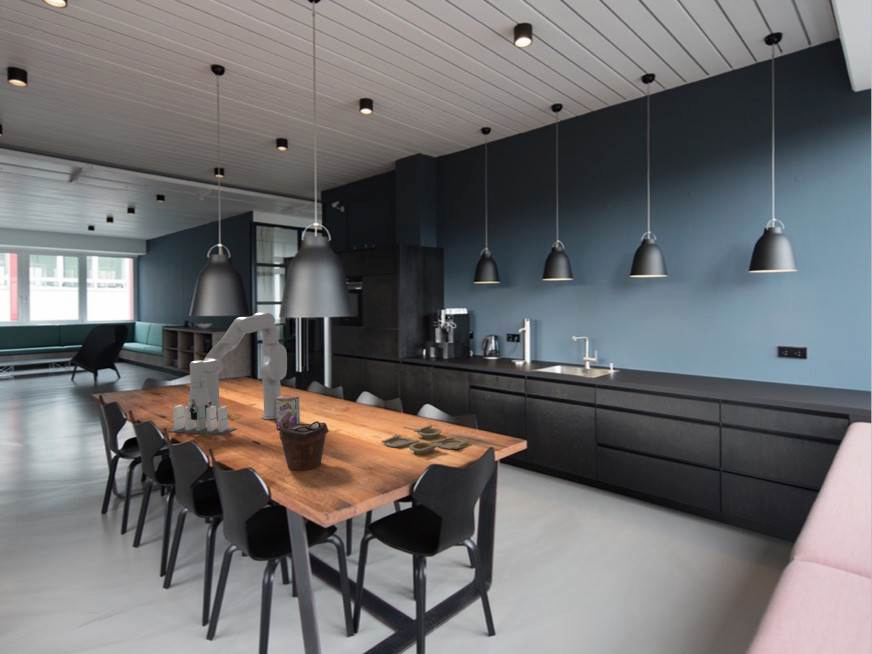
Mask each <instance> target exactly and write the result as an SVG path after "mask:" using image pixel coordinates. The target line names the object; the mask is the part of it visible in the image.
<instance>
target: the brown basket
mask: <svg viewBox="0 0 872 654" xmlns="http://www.w3.org/2000/svg"><path fill="white" fill-rule="evenodd" d="M328 432H330V431H329V428H328V425H327V423H326V422H320V421H313V422H312V423H300V424H298V423H281V425H280V429H279V434H278V435H279V439H280V441H281V445H282V449H283V455H284V458H285V461H286V465H287V466H286V467H287V468H288V469H290V470H292V471H297V472H298V471H299V472H300V471H301V472H302V471H309V470H313V469H316V468H318V467H320V466H321V465H322V458H323V455H324V447H325V443H326V442H325V440H326V436H327V433H328Z"/></svg>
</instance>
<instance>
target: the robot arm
mask: <svg viewBox="0 0 872 654" xmlns="http://www.w3.org/2000/svg"><path fill="white" fill-rule="evenodd" d="M275 321H276V318H275V316H274V315H273V314H272V313H270V312H256V313H254V314H253V315H251V316H240V317H237V318H235V319H234V320H233V322H232V323H231V324H230V325H229V327H228V328H227V330H226V332H225V334H224V335H223V336H222V337H221V339H220V340H219V341H218V342H217V343H216V344H215V345H214V346H213V347H212V348H210V350H209V352H208V353H207V355H206V356H205V357H204V359H203V360H202V359H201V360H193V361H190V363H189V372H190V373H189V375H190V389H189V394H188V404H187V405H186V407H188V410H189V411H190V412H191V420H195V421H196V420H197V412H196V410H197V408H199V407H202V406H205V415H206V408H208V407H210V405H211V401H212V398H210V397H209V392H208V387H207V375H206V374H217V373H218V374H219V373H221V372H222V371H223V370H224V363H223V362H222V359H223V357H224V356H226V355H227V354H228V353H229V352H232V351H233V350H235V349H236V347H238V345H239V343H240V342H241V341H242V339H243V337H245V335H246V334H251V333H255V332H259V331H261V332H260V333H261V336H262V355H263V357H264V358H265V359H268V360H269V361H267V362H265V363H263V364H262V366H261V368H260V377H261V381H262V394H263V398H262V399H263V414H262V415H261V419H263V420H276V400H275V398H277V397H282V393H281V392H282V390H281V389H282V388H281V386H282V385H281V380H284V378H286V376H287V370H288V356H287V350H286V347H285V346H284V345H283V344H281V343H279V341H280V340H279V331H278V328H277V326H276V324H275ZM193 408H194V409H193ZM206 416H207V415H206Z"/></svg>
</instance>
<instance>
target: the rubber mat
mask: <svg viewBox="0 0 872 654" xmlns="http://www.w3.org/2000/svg"><path fill="white" fill-rule="evenodd" d="M235 430H237V427H236V428H235V427H228V430H225V431H223V432H219V431H218V426H217V429H215V430H213V431H207V426H206V429H203V430H201V431H196V426H195V428H194V429H191V430H185V428H182V429H179V430H174V428H172V429H169V430H167V433H184V434H205V435H206V434H207V435H209V434H210V435H227V434H228V433H231V432H233V431H235Z"/></svg>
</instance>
